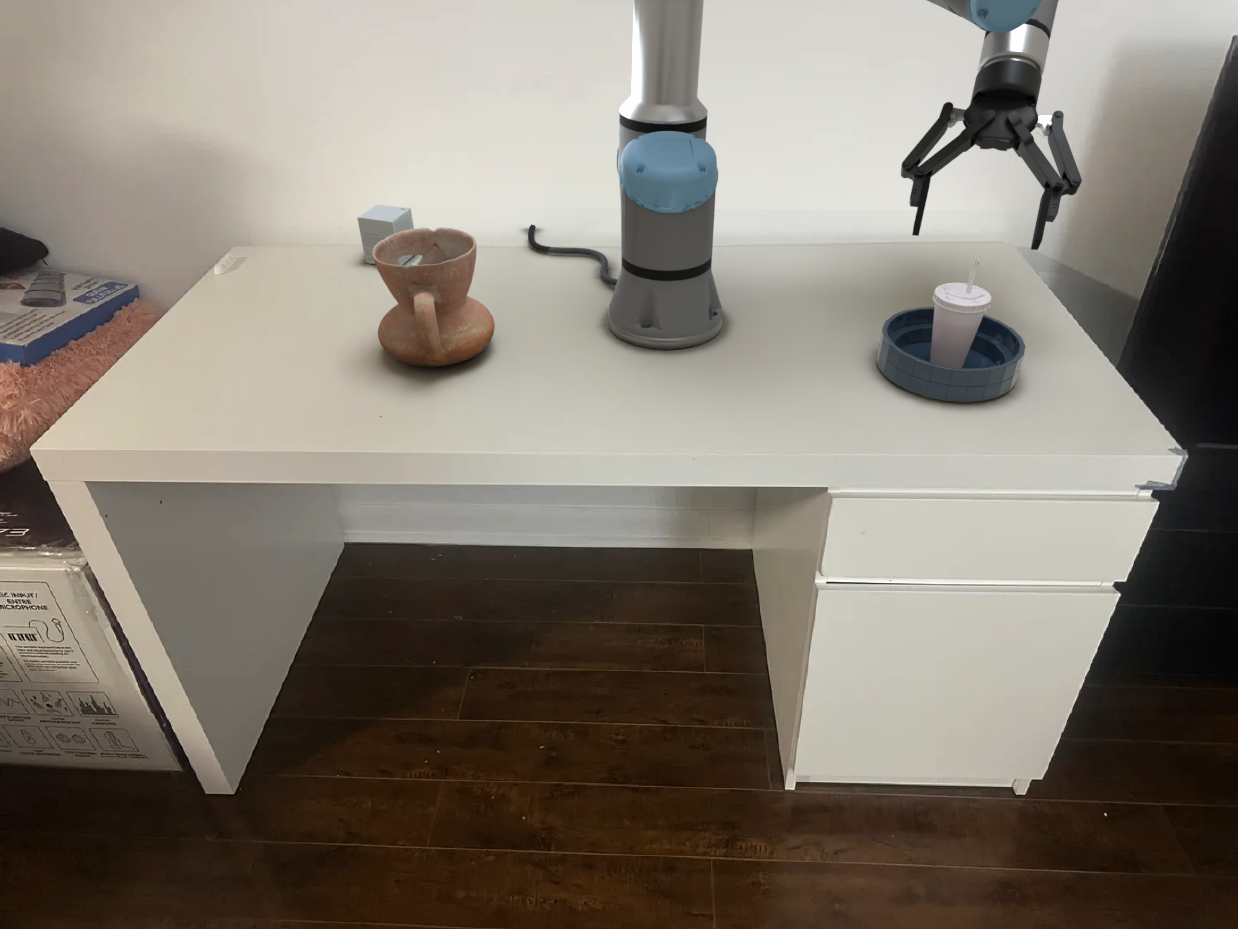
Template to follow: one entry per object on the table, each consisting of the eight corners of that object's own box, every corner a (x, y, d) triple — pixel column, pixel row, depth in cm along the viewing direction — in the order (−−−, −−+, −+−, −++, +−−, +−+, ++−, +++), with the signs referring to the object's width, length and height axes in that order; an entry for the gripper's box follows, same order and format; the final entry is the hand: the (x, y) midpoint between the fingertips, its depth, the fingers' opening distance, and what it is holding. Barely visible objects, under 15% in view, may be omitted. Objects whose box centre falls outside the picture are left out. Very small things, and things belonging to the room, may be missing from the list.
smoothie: (976, 382, 103) (1005, 271, 95) (920, 377, 104) (944, 267, 96) (969, 356, 108) (997, 249, 100) (916, 351, 109) (939, 245, 101)
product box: (384, 248, 139) (376, 203, 135) (419, 252, 137) (412, 207, 133) (364, 263, 134) (355, 217, 130) (400, 268, 133) (392, 221, 128)
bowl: (851, 351, 110) (856, 319, 108) (956, 329, 115) (964, 298, 112) (930, 416, 98) (938, 381, 95) (1045, 389, 103) (1056, 355, 100)
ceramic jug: (393, 322, 118) (374, 220, 110) (500, 318, 119) (489, 217, 110) (370, 391, 104) (347, 280, 95) (492, 386, 104) (479, 275, 96)
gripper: (1112, 101, 106) (1081, 264, 104) (902, 86, 113) (868, 237, 111) (1131, 63, 99) (1097, 237, 97) (905, 49, 106) (869, 211, 104)
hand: (974, 238), depth 104 cm, fingers open, 13 cm apart
